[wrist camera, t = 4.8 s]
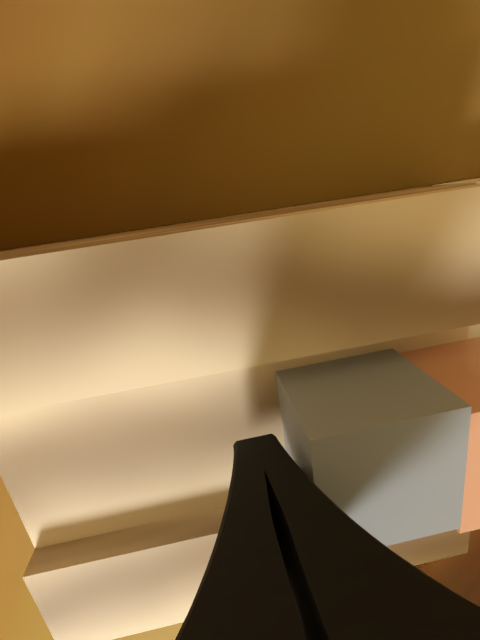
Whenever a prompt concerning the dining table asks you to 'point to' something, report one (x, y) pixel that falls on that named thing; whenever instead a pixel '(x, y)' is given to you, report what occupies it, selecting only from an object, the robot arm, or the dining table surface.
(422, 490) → the matte grey cube
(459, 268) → the grooved board
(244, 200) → the dining table surface
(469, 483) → the terracotta cube
